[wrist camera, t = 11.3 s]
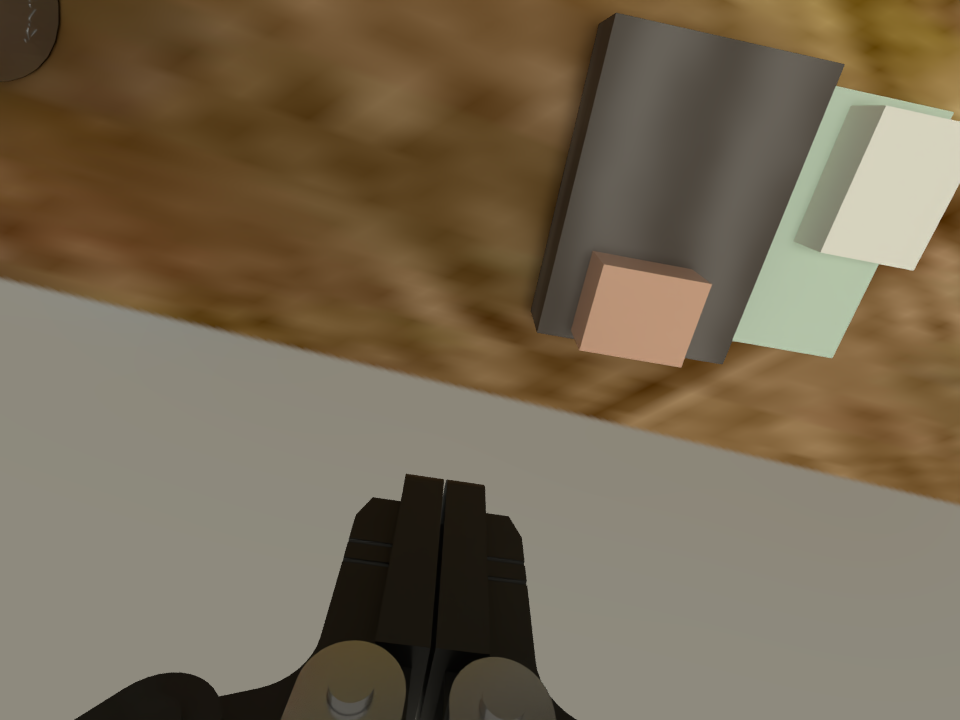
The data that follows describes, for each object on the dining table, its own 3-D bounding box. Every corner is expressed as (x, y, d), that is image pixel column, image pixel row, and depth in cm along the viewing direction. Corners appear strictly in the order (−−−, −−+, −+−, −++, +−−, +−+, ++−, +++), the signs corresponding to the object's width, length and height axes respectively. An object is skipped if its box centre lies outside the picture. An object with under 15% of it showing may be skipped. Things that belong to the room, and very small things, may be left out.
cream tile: (913, 270, 33) (880, 258, 36) (988, 127, 30) (945, 126, 32) (820, 252, 32) (793, 241, 35) (886, 105, 29) (850, 105, 32)
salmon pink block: (570, 330, 34) (579, 350, 31) (592, 250, 32) (604, 264, 29) (664, 346, 34) (681, 367, 32) (691, 269, 32) (712, 284, 29)
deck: (530, 310, 37) (537, 332, 34) (599, 24, 30) (616, 12, 27) (698, 340, 38) (722, 364, 35) (801, 69, 32) (844, 64, 28)
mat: (708, 334, 38) (710, 336, 38) (806, 80, 32) (810, 80, 31) (828, 355, 39) (832, 358, 39) (948, 112, 33) (954, 112, 32)
